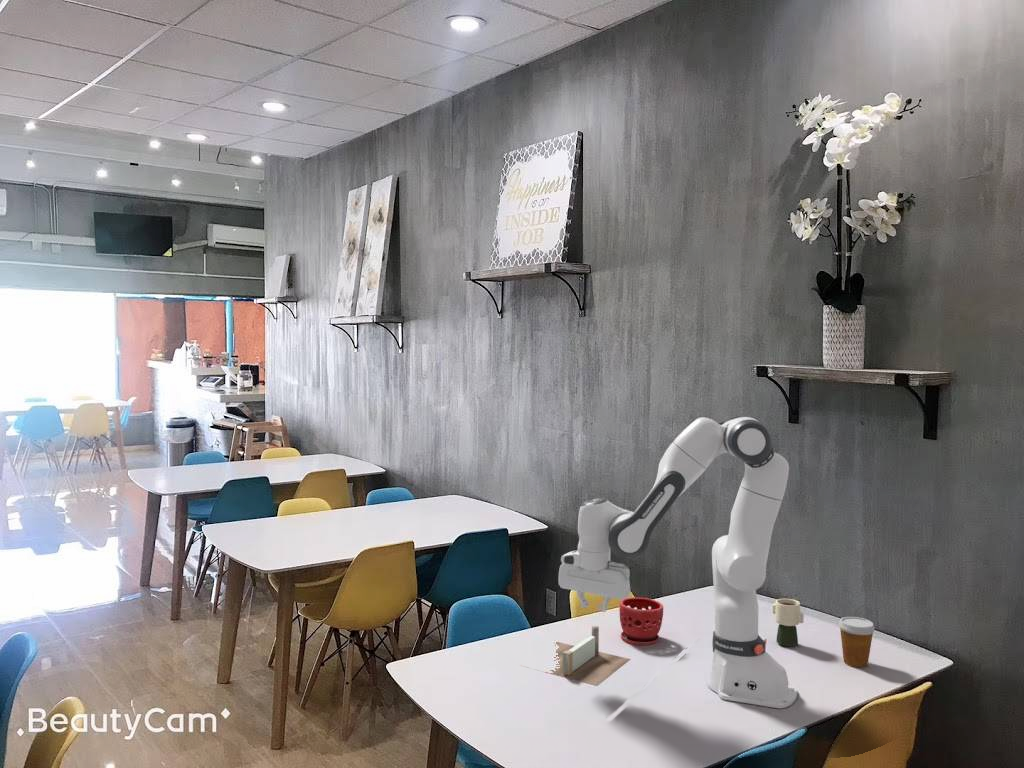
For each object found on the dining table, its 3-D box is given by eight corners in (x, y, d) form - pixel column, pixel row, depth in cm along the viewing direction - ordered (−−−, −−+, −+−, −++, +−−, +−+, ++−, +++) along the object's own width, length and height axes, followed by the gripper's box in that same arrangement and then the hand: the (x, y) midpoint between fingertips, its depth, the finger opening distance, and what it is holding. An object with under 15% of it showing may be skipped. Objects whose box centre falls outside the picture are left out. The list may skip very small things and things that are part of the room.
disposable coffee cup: (835, 666, 226) (836, 624, 226) (839, 654, 235) (840, 614, 234) (872, 672, 222) (873, 630, 221) (875, 660, 230) (876, 619, 230)
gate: (595, 655, 230) (595, 635, 230) (568, 675, 217) (569, 654, 216) (589, 654, 231) (589, 634, 231) (562, 673, 218) (562, 652, 217)
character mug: (810, 647, 240) (811, 604, 239) (794, 652, 236) (795, 609, 235) (779, 636, 249) (780, 595, 248) (764, 641, 245) (765, 599, 244)
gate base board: (630, 662, 229) (630, 631, 228) (597, 689, 211) (597, 655, 210) (557, 645, 242) (557, 615, 241) (519, 669, 224) (520, 637, 223)
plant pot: (650, 653, 235) (650, 613, 235) (611, 643, 243) (611, 604, 243) (670, 640, 246) (670, 601, 245) (632, 630, 254) (632, 593, 253)
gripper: (634, 561, 213) (634, 613, 214) (566, 550, 224) (566, 599, 225) (624, 567, 208) (623, 620, 208) (555, 556, 219) (555, 605, 219)
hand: (593, 609), depth 217 cm, fingers open, 4 cm apart
